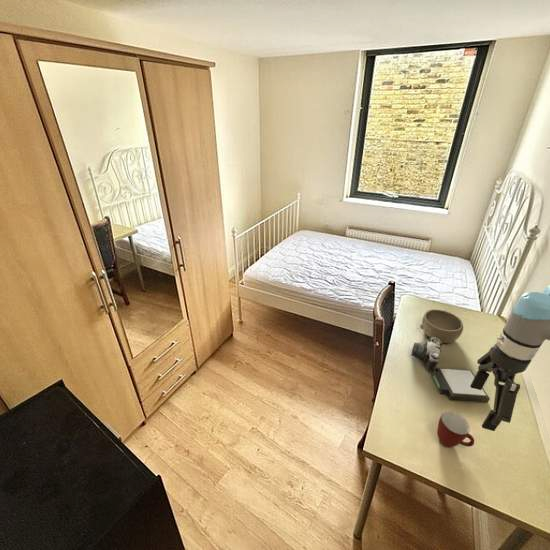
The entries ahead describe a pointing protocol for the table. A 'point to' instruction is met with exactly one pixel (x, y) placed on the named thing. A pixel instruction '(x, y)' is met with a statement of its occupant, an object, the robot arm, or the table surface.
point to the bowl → (442, 325)
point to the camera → (428, 353)
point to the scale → (458, 385)
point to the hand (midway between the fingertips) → (481, 406)
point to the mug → (453, 430)
